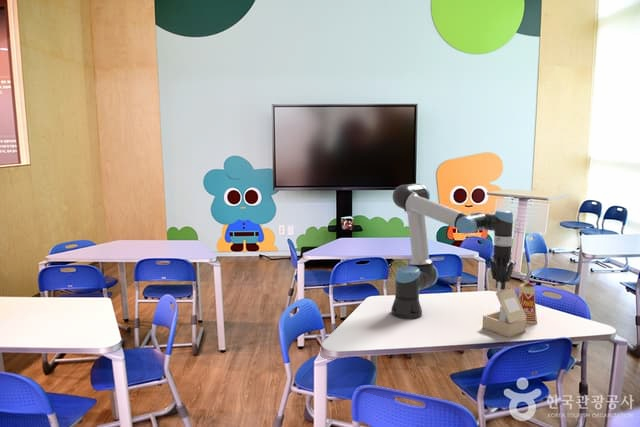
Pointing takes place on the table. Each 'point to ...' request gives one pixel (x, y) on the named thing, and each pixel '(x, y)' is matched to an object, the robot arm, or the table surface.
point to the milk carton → (528, 301)
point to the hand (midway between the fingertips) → (500, 295)
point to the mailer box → (503, 324)
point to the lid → (511, 305)
